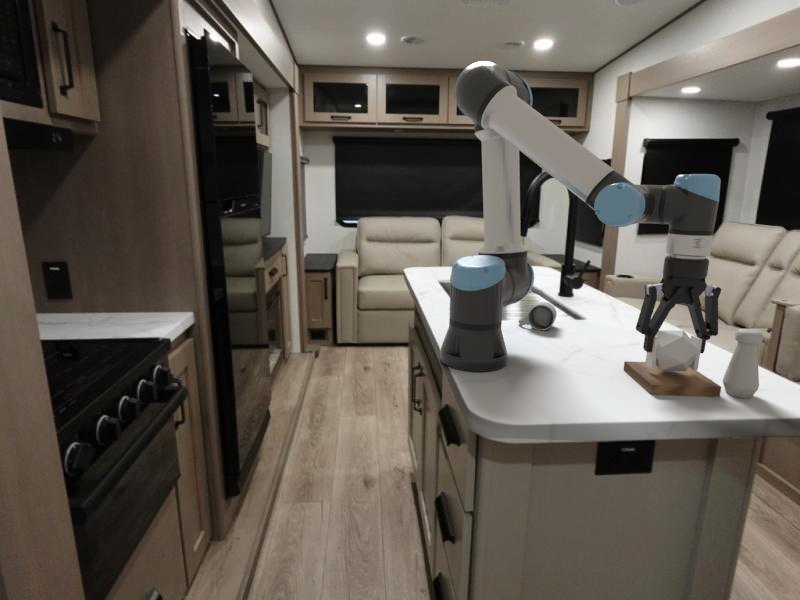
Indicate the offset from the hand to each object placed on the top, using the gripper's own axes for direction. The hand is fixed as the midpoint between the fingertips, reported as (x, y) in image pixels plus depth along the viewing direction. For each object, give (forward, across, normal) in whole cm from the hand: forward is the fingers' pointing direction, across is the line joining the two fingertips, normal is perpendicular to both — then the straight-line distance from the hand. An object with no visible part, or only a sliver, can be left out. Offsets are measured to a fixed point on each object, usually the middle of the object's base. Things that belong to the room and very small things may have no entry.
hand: (670, 367), depth 99 cm
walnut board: (+3, 0, 0) cm, 3 cm away
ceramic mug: (+4, -18, +40) cm, 44 cm away
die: (0, 0, 0) cm, 1 cm away
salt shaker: (+4, +11, -5) cm, 13 cm away
